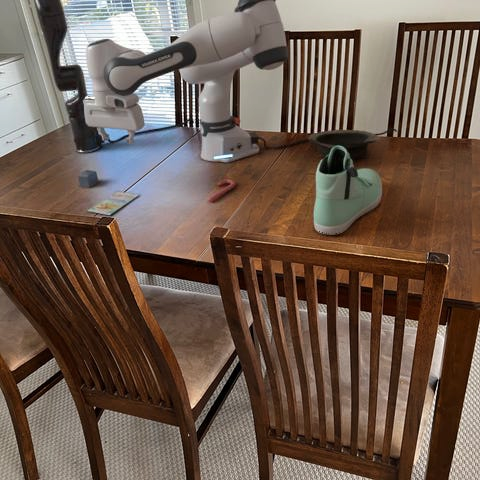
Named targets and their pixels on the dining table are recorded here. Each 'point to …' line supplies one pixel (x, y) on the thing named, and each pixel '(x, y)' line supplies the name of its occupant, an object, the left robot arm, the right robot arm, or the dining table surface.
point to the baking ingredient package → (113, 203)
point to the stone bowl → (343, 141)
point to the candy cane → (222, 189)
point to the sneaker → (343, 192)
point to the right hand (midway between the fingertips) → (118, 141)
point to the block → (88, 178)
